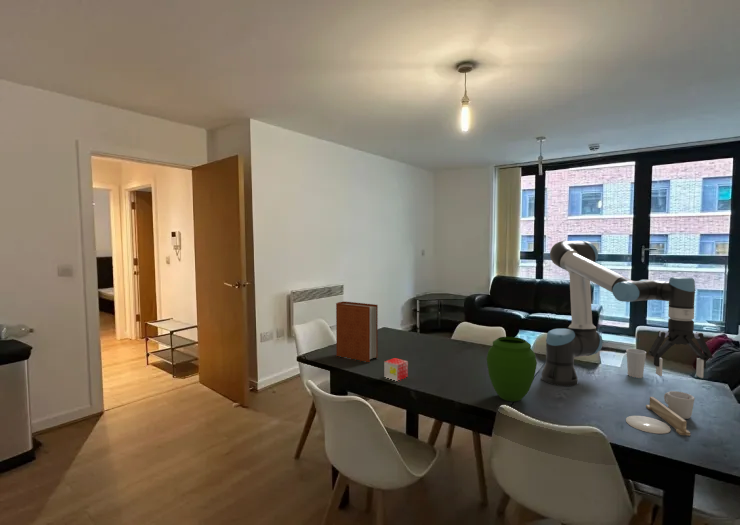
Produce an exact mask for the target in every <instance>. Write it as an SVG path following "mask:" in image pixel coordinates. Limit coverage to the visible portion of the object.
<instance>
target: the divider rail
mask: <svg viewBox="0 0 740 525" xmlns="http://www.w3.org/2000/svg"><path fill="white" fill-rule="evenodd" d="M645 408H646V409H648V410H650V411H652V412H653V413H655V414H656V415H658V417H660V418H661V419H663V421H665V423H666V424H668V425H670V427H672V428H673V429H675V432H676V433H677V434H679V435H680V436H691V431H689V429H687V423H688V422H687V420H686V419H683V418H681V417H680V416H679V415H677V414H676V413H675V412H673V411H672V410H670V409H669V408H668V407H667V406H666V405H665V404H663V403H662V402H661V401H659V400H658V399H657V398H655V397H654V396H649V404H645Z"/></svg>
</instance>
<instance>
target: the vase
mask: <svg viewBox="0 0 740 525" xmlns="http://www.w3.org/2000/svg"><path fill="white" fill-rule="evenodd" d="M537 364H538V362H537V357H536V353H535V352H534V350H533V349H532V344H531V343H530V342H528V341H527V340H526V339H524V338H522V337H518V336H517V337H516V336H499V337H497V338H496V339H495V340H493V341H492V346H490V347H489V349H488V351H487V355H486V365H487V373H488V377H489V379H490V381H491V385H492V388H493V389H494V391H495V392H496V395H498V397H499V398H500V399H502V400H504V401H507V402H514V403H515V402H516V403H517V402H519V401H521V400H523V398H524V397H526V395H527V393H528V392H529V391H530V389H531V387H532V385H533V381H534V380H535V375H536V370H537Z"/></svg>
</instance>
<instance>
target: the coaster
mask: <svg viewBox="0 0 740 525" xmlns="http://www.w3.org/2000/svg"><path fill="white" fill-rule="evenodd" d="M625 421H626V423H627V424H628V426H631V427H632V428H634V429H636V430H638V431H642V432H644V433H645V432H646V433H649V434H657V435H665V434H669V433H670V432H671V425H670V424H668V423H667V422H663V421H661V420H659V419H656V418H653V417H649V416H643V415H630V416H627V417H626V418H625ZM669 425H670V426H669Z"/></svg>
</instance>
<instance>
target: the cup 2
mask: <svg viewBox="0 0 740 525" xmlns="http://www.w3.org/2000/svg"><path fill="white" fill-rule="evenodd" d="M663 399H664V402H665V404H666V405H667V406H668V408H669V409H670V410H672V411H673V412H675V413H676V414H677V415H679V416H680V417H681V418H683V419H684V420H688V419H691V417H692V416H693V415H692V414H693V409H694V404H695V400H696V398H695V397H694V395H692V394H690V393H687V392H682V391H675V390H671V391H668V392H665V394H664V396H663Z"/></svg>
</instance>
